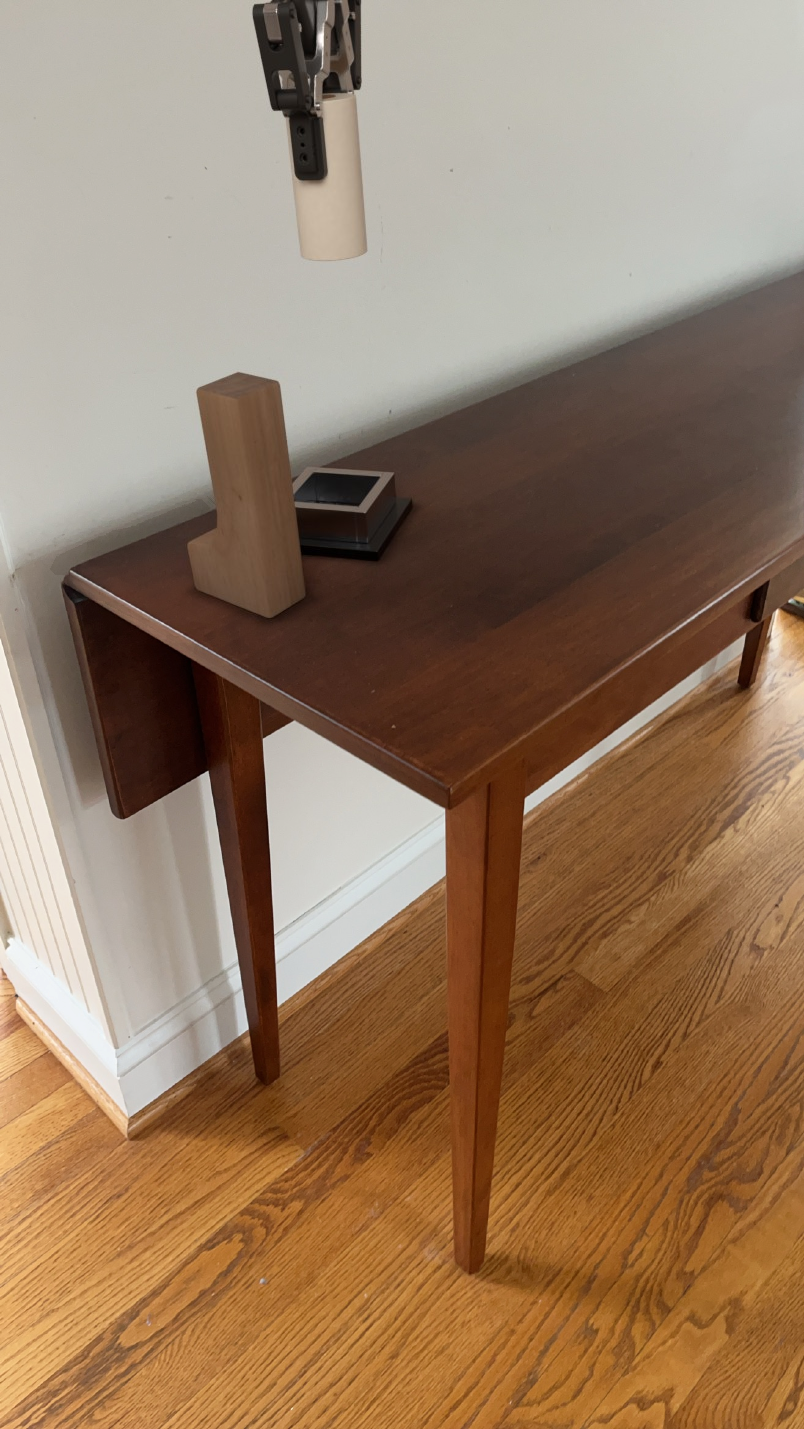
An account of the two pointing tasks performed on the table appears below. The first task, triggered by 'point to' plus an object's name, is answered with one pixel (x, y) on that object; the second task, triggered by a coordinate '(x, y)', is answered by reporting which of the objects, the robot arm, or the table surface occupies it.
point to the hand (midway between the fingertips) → (325, 170)
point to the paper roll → (333, 188)
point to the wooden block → (248, 499)
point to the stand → (347, 512)
